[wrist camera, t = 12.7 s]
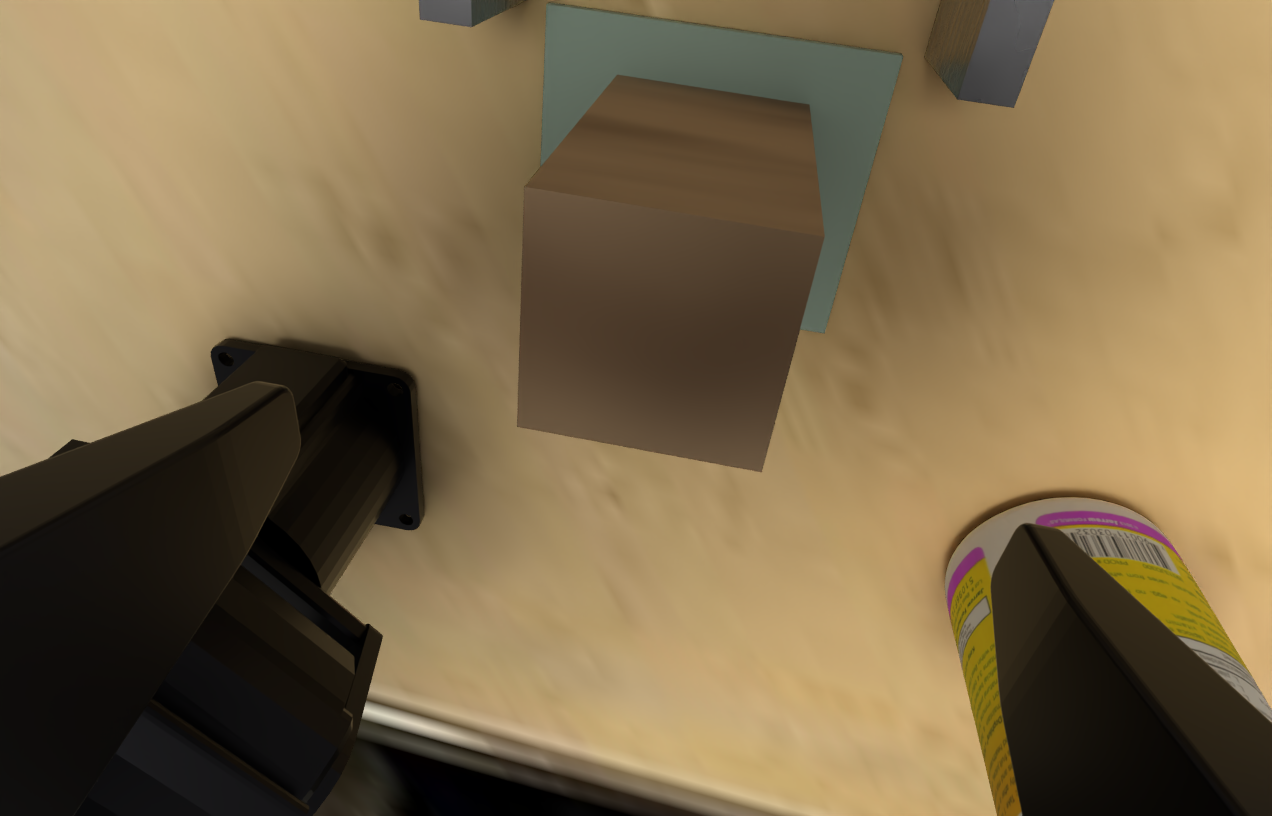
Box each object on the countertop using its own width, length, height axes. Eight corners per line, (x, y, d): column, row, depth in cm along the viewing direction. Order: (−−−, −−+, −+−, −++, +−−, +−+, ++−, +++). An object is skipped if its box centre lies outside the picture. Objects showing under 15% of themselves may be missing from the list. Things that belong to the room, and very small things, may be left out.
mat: (824, 328, 21) (824, 333, 21) (538, 279, 22) (536, 284, 22) (901, 53, 17) (903, 56, 17) (549, 1, 18) (546, 3, 18)
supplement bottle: (998, 659, 27) (1131, 1143, 17) (902, 541, 25) (988, 1018, 15) (1206, 593, 24) (1525, 1133, 14) (1118, 451, 22) (1422, 972, 12)
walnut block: (768, 281, 20) (761, 472, 14) (600, 253, 21) (517, 426, 14) (809, 104, 18) (824, 236, 11) (617, 74, 18) (524, 187, 12)
